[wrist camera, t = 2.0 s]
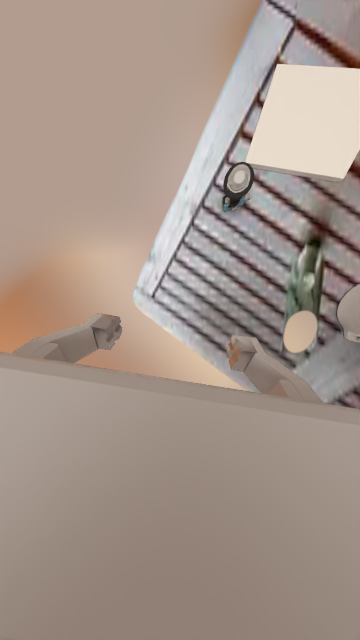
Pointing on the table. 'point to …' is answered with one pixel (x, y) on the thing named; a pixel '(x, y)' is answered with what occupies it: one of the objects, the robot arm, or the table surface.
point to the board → (309, 123)
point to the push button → (237, 186)
